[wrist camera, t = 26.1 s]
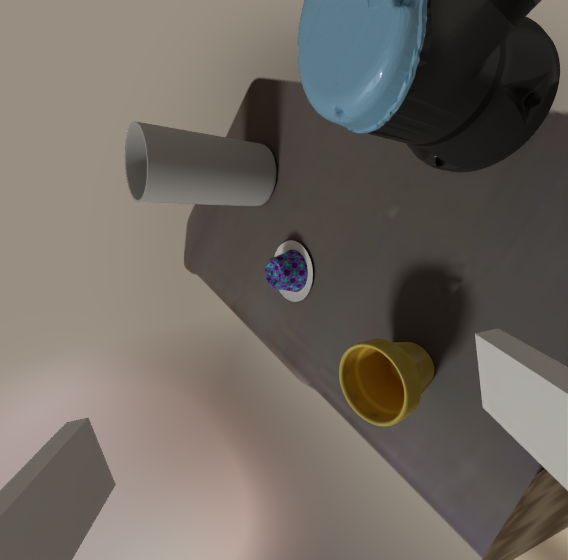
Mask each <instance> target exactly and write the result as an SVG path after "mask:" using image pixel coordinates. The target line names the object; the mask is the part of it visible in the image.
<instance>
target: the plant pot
mask: <svg viewBox="0 0 568 560" xmlns="http://www.w3.org/2000/svg"><path fill="white" fill-rule="evenodd" d="M433 377H434V365H433V362H432V359H431V357H430V356H429V354H428V353H427V352H426V351H425V350H424V349H423V348H422V347H421V346H419V345H417V344H415V343H412V342H390V341H387V340H383V339H372V340H368V341H364V342H361V343H358V344H355V345H353V346H351V347H350V348H349V349H348V350H347V351H346V352H345V353H344V355H343V356H342V359H341V362H340V367H339V378H340V384H341V388H342V391H343V393H344V396H345V398H346V400H347V401H348V403H349V404H350V406H351V407H352V409H353V410H354V411H355V412H356V413H357V414H358V415H359V416H360V417H362V418H363V419H364V420H366V421H367V422H369V423H371V424H374V425H377V426H391V425H394V424H396V423H398V422H399V421H401V420H403V419H404V418H406V417H407V416H408V415H410V414H411V413H412V412H413V411H414V410H415V409H416V407H417V406H418V404H419V401H420V398H421V394H422V393H423V392H424V390H425V389H426V388H427V387H428V386H429V384H430V383H431V382H432V380H433Z"/></svg>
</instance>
